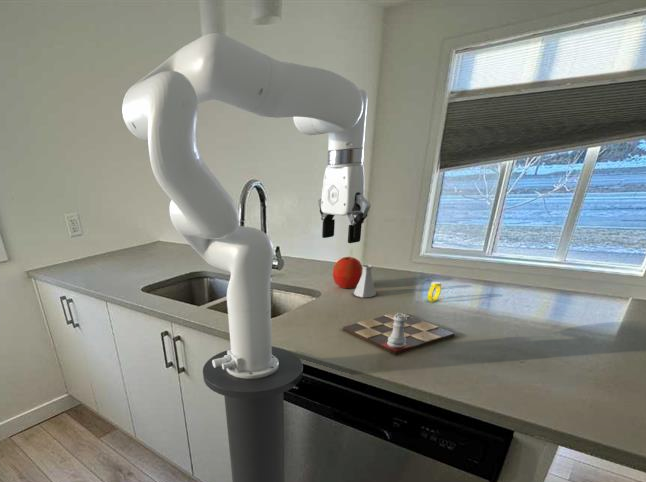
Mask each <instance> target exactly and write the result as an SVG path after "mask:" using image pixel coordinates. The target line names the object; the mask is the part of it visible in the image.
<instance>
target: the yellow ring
mask: <svg viewBox="0 0 646 482" xmlns="http://www.w3.org/2000/svg"><path fill="white" fill-rule="evenodd" d="M430 284H431V285H430V286H429V289H428V292H427V301H428V302H431V303H434V302H436V301H437V300H438V299H439V298H440V295H441V291H442V282H441V281H432V282H431V283H430ZM433 295H434V296H433Z"/></svg>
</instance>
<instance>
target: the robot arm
mask: <svg viewBox="0 0 646 482" xmlns="http://www.w3.org/2000/svg"><path fill="white" fill-rule="evenodd" d="M210 100H216V101H219V102H222V103H225V104H228V105H230V106H232V107H235V108H239V109H240V110H243V111H245V112H246V111H247V112H249V113H252V114H255V115H256V116H259V117H265V118H281V119H282V118H293V123H294V126H295V127H296V129H297V130H298V131H299V132H300V133H302V134H303V135H306V136H317V135H324V134H328V141H327V143H328V145H327V166H326V167H325V170H324V174H323V179H322V180H323V181H322V187H321V188H322V189H321V197H320V199H318V202H317V203H318V207H319V213H320V215H321V218H320V220H321V221H322V230H321V231H322V232H321V237H322V238H323V239H328V238H332V237H334V236H335V226H336V225H335V224H336V220H335V219H334V217H335V216H340V217H345V216H347V218H348V220H349V222H350V224H348V228H347V229H348V230H347V231H348V232H347V243H348V244H354V243H360V242H361V236H362V225H363V224H365V220H366V218H367V217H368V213H369V211H370V208H371V206H372V205H371V203H370V202H369V201H368V200H367V199H366V198H365V169H364V163H363V162H364V149H365V136H366V125H367V111H368V93H367V91H366V90H364V89H361V88H359V87H358V86H357V85H356V83H354V82H353V81H351V79H348V78H346V77H344V76H342V75H341V74H338V73H336V72H333V71H331V70H328V69H324V68H319V67H315V66H308V65H303V64H298V63H293V62H287V61H280V60H278V59H275V58H273V57H272V56H269V55H267V54H264V53H262V52H260V51H259V50H256V49H254V48H253V47H250V46H248V45H247V44H245V43H243V42H240V41H238V40H236V39H235V38H232V37H230V36H228V35H226V34H223V33H220V32H219V33H218V32H211V33H208V34H205V35H202V36H200V37H199V38H197V39H195V40H193V41H191V42H189V43H187V44H185V45H184V46H183V47H181V48H179V49H177V51H175V52H174V53H173V54H172V55H171V56H170V57H168V58H167V59H166V60H165V61H163V62H162V63H161V64H159V65H157V67H155V68H154V69H153V70H151V71H150V72H149V73H147V74H146V75H145V76H143V77H142V78H141V79H139V80H138V81H137V82H136V83H134V84H133V85H131V86H130V87H129V89H127V91H126V93H125V95H124V97H123V101H122V105H121V107H122V109H121V111H122V118H123V122H124V123H125V126H126V128H127V129H128V131H129V132H130V133H131V134H132V135H133V136H134V137H136V138H137V139H139V140H142V141H146V142H147V143H148V154H149V161H150V166H151V170H152V173H153V175H154V177H155V180H156V182H157V183H158V185H159V186H160V188H161V189H162V190H163V191H164V194H166V195H167V196H168V198H169V199H170V201H169V202H170V203H169V208H168V209H169V210H168V211H169V218H170V221H171V223H172V225H173V227H174V229H175V230H176V232H177V234H179V235H180V237H182V238H183V240H184V241H185V242H186V243H187V244H188V245H189V246H190V247H191V248H192V249H193V250H194V251H195V252H196V253H197V254H198V255H199V256H200V257H201V258H202V260H204V261H205V262H206V263H207V264H208V265H210V266H212V267H213V268H216V269H218V270H222V271H226V272H228V273H230V278H229V282H228V285H227V289H226V307H227V317H228V318H227V319H228V329H229V340H230V341H229V344H230V349H231V350H230V349H227V350H228V351H227V355H225V356H224V357H223V358H218V359H214V360H212V364H213V367H214V368H216V367H220V366H222V369H223V370H224V369H226V370H227V372H228V373H229V374H231V375H233V376H235V377H238V378H244V379H256V378H262V377H266V376H268V375H271V374H272V373H274V372H275V371H276V370H277V369H278V366H279V362H278V359H277V358H276V357H275V356H273V355H272V347H273V346H272V345H273V344H272V311H271V310H272V309H271V280H272V279H271V278H272V270H273V265H274V259H275V247H274V244H273V241H272V240H271V238H270V236H269V235H268V234H267V233H266V232H265V231H263V230H261V229H259V228H256V227H251V226H243V225H239V223H240V212H239V208H238V206H237V204H236V202H235V200H234V199H233V198H232V196H231V194H230V193H228V191H227V190H226V188H225V187H224V186H223V185H222V183H221V182H220V180H219V179H218V178H217V177H216V175H215V174H214V173H213V172H212V171H211V169H210V168H209V166H208V165H207V163H206V162H205V161H204V159H203V157H202V155H201V153H200V151H199V148H198V142H197V121H198V114H199V104H201V103H204V102H207V101H210Z"/></svg>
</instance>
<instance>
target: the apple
mask: <svg viewBox="0 0 646 482" xmlns="http://www.w3.org/2000/svg"><path fill="white" fill-rule="evenodd" d="M362 266H363V265H362V263H361V261H360V260H359V259H357V258H356V257H352V256H350V255H348V256H344V257H341V258H340V259H339V260H337V261H336V263H335V264H334V265H333V271H332V278H333V281H334V284H336V285H337V286H338V287H339V288H342V289H353V288H355V287H357V285H358V283H359V281H360V278H361V276H362V272H363V268H362Z"/></svg>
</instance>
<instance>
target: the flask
mask: <svg viewBox="0 0 646 482" xmlns="http://www.w3.org/2000/svg"><path fill="white" fill-rule="evenodd" d="M373 267H374V265H372V264H364V265H362V275H361V278H360V281H359V283H358V284H357V285H356V286H355V289H354V291H353V294H354V296H355V297H360V298H371V297H374V296H377V291H376V288H375V285H374V281H373V278H372V269H373Z"/></svg>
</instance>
